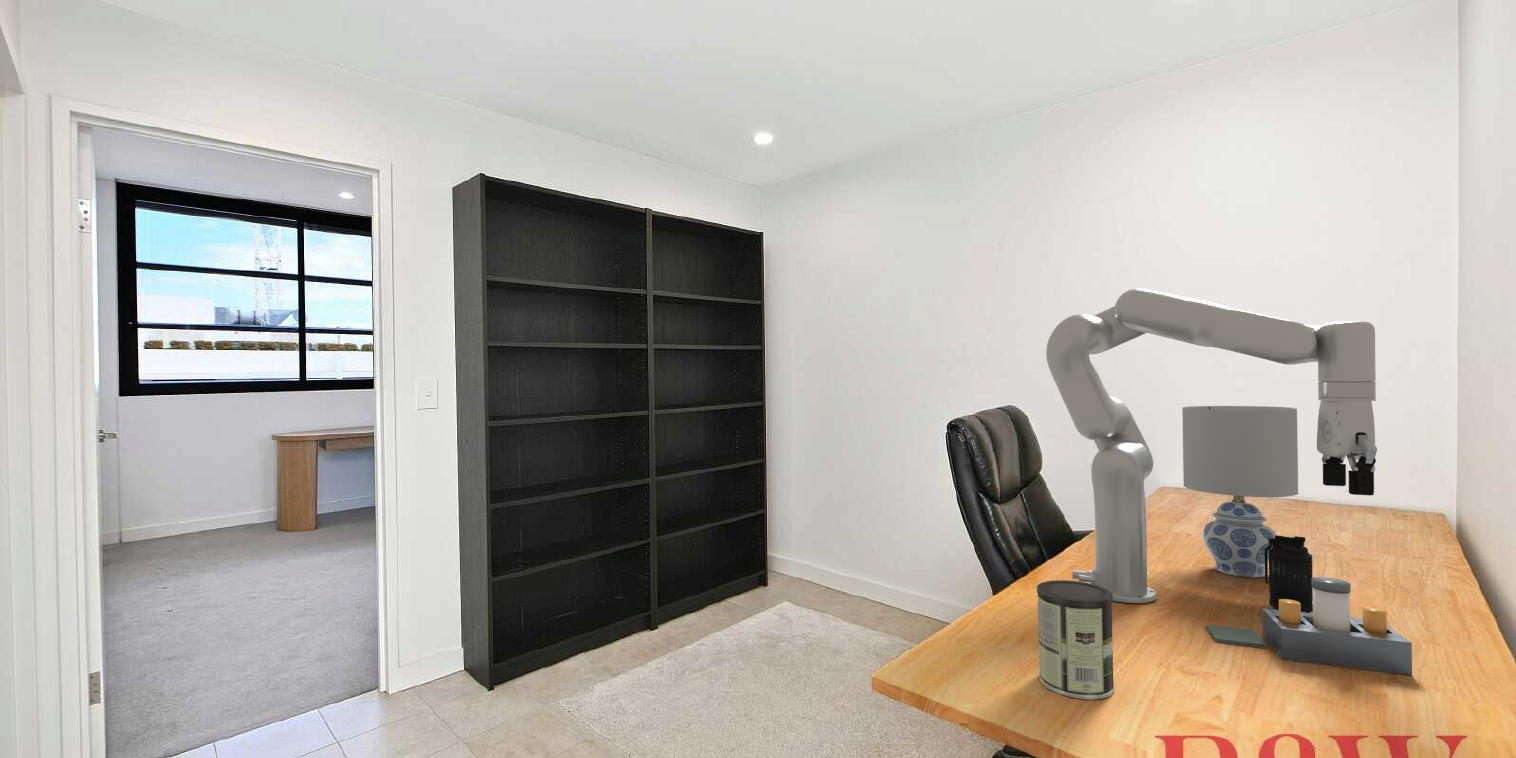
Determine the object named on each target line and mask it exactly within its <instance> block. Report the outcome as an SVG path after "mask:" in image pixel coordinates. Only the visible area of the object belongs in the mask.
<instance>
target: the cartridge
mask: <svg viewBox="0 0 1516 758" xmlns="http://www.w3.org/2000/svg"><path fill="white" fill-rule="evenodd" d="M1312 587H1313V602H1312V603H1313V612H1312V613H1313V626H1314V627H1315V628H1318V629H1327V630H1337V631H1346V632H1350V617H1351V592H1352V591H1351V583H1350V582H1348V581H1345V580H1342V579H1339V578H1334V577H1326V576H1314V577H1313V578H1312Z"/></svg>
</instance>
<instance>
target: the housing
mask: <svg viewBox="0 0 1516 758" xmlns="http://www.w3.org/2000/svg"><path fill="white" fill-rule="evenodd" d="M1261 611H1262V612H1261V622H1262V624H1261V625H1262V639H1264V641H1265V642H1266V643H1267V644H1268V645H1269V646H1270V648H1271V649H1272V650H1273V651H1274V652H1275V654H1277V656H1278V657H1279V658H1280V659H1281V660H1282V661H1290V662H1300V663H1307V664H1314V665H1322V666H1331V667H1341V668H1348V669H1356V670H1362V671H1363V670H1364V671H1371V672H1381V673H1388V674H1395V675H1397V674H1398V675H1404V676H1411V677H1412V676H1413V651H1412V650H1413V648H1412V647H1413V645H1412V641H1410V640H1409V639H1407V638H1406V637H1404V636H1403V635H1402V634H1400V633H1399V632H1397V631H1396V630H1395V629H1393V628H1392V627H1390V626H1389V625H1388V624H1387V633H1379V632H1370V631H1365V630H1364V629H1363V617H1354V616H1350V632H1346V631H1337V630H1327V629H1318V628H1315V627H1314V626H1313V612H1311V613H1304V612H1301V624H1294V623H1285V622H1280V621H1279V610H1276V609H1275V608H1273V609H1272V608H1263V607H1262V609H1261Z"/></svg>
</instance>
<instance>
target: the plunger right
mask: <svg viewBox="0 0 1516 758" xmlns="http://www.w3.org/2000/svg"><path fill="white" fill-rule="evenodd" d="M1387 614H1388V613H1387V610H1385V609H1381V608H1378V607H1373V606H1372V607H1371V606H1363V607H1362V618H1363V629H1364V630H1365V631H1370V632H1379V633H1387V625H1388V616H1387Z"/></svg>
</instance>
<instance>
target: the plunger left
mask: <svg viewBox="0 0 1516 758" xmlns="http://www.w3.org/2000/svg"><path fill="white" fill-rule="evenodd" d="M1279 621H1280V622H1285V623H1294V624H1301V608H1300V602H1297V601H1294V600H1289V599H1280V600H1279Z"/></svg>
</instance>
